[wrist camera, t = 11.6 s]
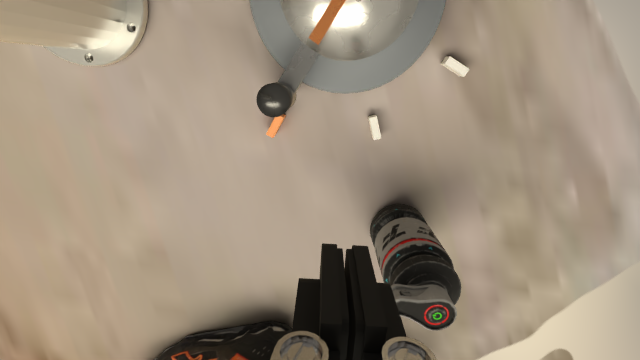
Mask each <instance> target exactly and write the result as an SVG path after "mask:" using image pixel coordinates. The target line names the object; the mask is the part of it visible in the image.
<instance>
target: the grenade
mask: <svg viewBox="0 0 640 360" xmlns="http://www.w3.org/2000/svg"><path fill="white" fill-rule="evenodd" d="M370 234H371V238H372V242H373V245H374V247H375V252H376V256H377V259H378V263H379V267H380V270H381V274H382V277H383V281H384V283H389V284H390V285H391V288H392V291H393V294H394V298H395V301H396V304H397V307H398V311H399V314H400V316H402V317H405V318H408V319H411V320H412V321H414V322H416V323H418V324H419V325H421V326H422V327H424V328H426V329H428V330H433V331H434V330H442V329H445V328H447V327H449V326H450V325H451V324H452V323H453V322H454V320H455V319H456V316H457V311H456V308H455V306H454V305H455V304H456V303H457V301H458V299H459V297H460V293H461V282H460V279H459V277H458V275H457V274H456V272H455V271H454V267H453V264H452V260H451V259H450V257H449V256H448V254H447V253H446V251H445V249H444V248H443V246H442V245H441V244H440V242H439V241H438V239H437V238H436V236H435V235H434V233H433V232H432V230H431V229H430V227H429V226H428V225H427V223H426V221H425V220H424V218H423V217H422V215H421V214H420V213H419V212H418V211H417V210H416V209H414V208H413V207H410V206H407V205H401V204H398V205H391V206H388V207H386V208H384V209H383V210H381V211H380V212H379V213H378V214H377V215H376V216H375V217H374V219H373V221H372V223H371V228H370Z"/></svg>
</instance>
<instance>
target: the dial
mask: <svg viewBox="0 0 640 360" xmlns="http://www.w3.org/2000/svg"><path fill="white" fill-rule="evenodd" d="M418 1H419V0H280V3H281V7H282V10H283V13H284V15H285V18H286V20H287V22H288V23H289V25H290V27H291V29H292V30H293V31H294V33H295V34H296V35H297V37H298V38H299V39H300V40H301V41H302V43H301V44H300V46H299V48H298V49H297V51H296V53H295V54H294V56H293V58H292V59H291V61H290V63H289V64H288V66H287V68H286V69H285V71H284V73H283V74H282V76H281V78H280V79H279V81H278V82H276V83H271V84H267V85H265V86H263V87H262V88H261V89H260V90H259V92H258V95H257V105H258V107H259V109H260V111H261V112H262V113H263V114H265V115H267V116H269V117H278V116H281V115H283V114H284V113H285V112H286V111H287V110H288V109H289V108H290V107H291V106H292V105H293V104H294V103H295V100H296V91H297V90H298V88H299V86H300V85H301V83H302V82H303V80H304V78H305V77H306V75H307V74H308V72H309V70H310V69H311V67H312V66H313V64H314V62H315V61H316V59H317V58H318V56H319V55H321V56H323V57H325V58H329V59H332V60H337V61H355V60H360V59H364V58H367V57H370V56H372V55H374V54H377V53H379V52H380V51H382V50H384V49H385V48H387V47H388V46H389V45H390V44H392V43H393V42H394V41H395V40H396V39H397V38H398V37H399V36H400V35H401V34H402V32H403V31H404V30H405V28H406V27H407V25H408V24H409V22H410V20H411V19H412V17H413V14H414V12H415V10H416V7H417V4H418Z"/></svg>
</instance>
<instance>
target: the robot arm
mask: <svg viewBox="0 0 640 360" xmlns="http://www.w3.org/2000/svg"><path fill="white" fill-rule="evenodd" d="M147 19H148V2H147V0H0V42H8V43H19V44H29V45H40V46H43V47H44V48H45V49H46V50H48V51H49V52H51V53H52V54H54V55H55V56H57V57H59V58H61V59H63V60H65V61H68V62H70V63H73V64H77V65H81V66H93V67H95V66H107V65H111V64H115V63H117V62H119V61H121V60H123V59H125V58H126V57H127V56H128V55H129V54H131V53H132V52H133V51H134V50H135V48H136V47H137V45H138V44H139V43H140V41H141V39H142V36H143V34H144V32H145V28H146V23H147ZM134 27H136V31H135V30H134ZM270 360H437V359H436V357H435V355H434V354H433V353H432V351H431V350H430V349H429V348H428V347H427V346H425V345H424V344H423V343H421V342H419V341H417V340H416V339H412V338H409V337H406V333H405V330H404V327H403V324H402V320H401V317H400V314H399V311H398V307H397V304H396V301H395V298H394V294H393V291H392V288H391V285H390V284H389V283H377V282H376V278H375V274H374V270H373V266H372V262H371V258H370V254H369V250H368V246H355V245H353V246H352V249H347V250H346V258H345V269H344V261H343V250H342V249H339V248H337V244H322V251H321V266H320V279H303V278H299V282H298V289H297V297H296V305H295V313H294V320H293V328H292V332H291V333H289V334H287V335H284V336H283V337H282V338H281V339H280V340H279V341H278V342H277V344H276V346H275V348H274V351H273V353H272V356H271V359H270Z"/></svg>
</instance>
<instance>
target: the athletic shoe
mask: <svg viewBox="0 0 640 360" xmlns="http://www.w3.org/2000/svg"><path fill="white" fill-rule="evenodd" d="M291 332H292V329H291V328H290V327H289V326H288V325H286V324H281V323H279V322H269V321H268V322H263V323H258V324H253V325H245V326H240V327H235V328H229V329H224V330H218V331H212V332H207V333H201V334H196V335H192V336H187V337H185V339H184V340H182V341H181V342H179V343H178V344H177V345H174V346H171V347H170V348H168V349H166V350H165V351H163V352H162V354H161V355H160V356H159V357H157V358H156V359H154V360H270V359H271V356H272V353H273V351H274V348H275V346H276V344H277V342H278V341H279V340H280V339H281V338H282V337H283V336H284V335H287V334H289V333H291Z"/></svg>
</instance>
